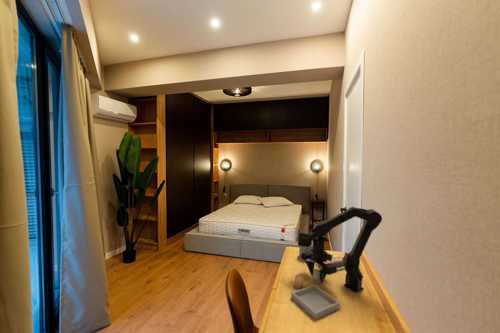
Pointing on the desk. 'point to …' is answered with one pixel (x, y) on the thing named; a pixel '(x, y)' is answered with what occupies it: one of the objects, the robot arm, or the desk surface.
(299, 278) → the terracotta part
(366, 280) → the desk surface
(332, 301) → the tray
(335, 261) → the packaged product
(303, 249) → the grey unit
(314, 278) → the sage part
